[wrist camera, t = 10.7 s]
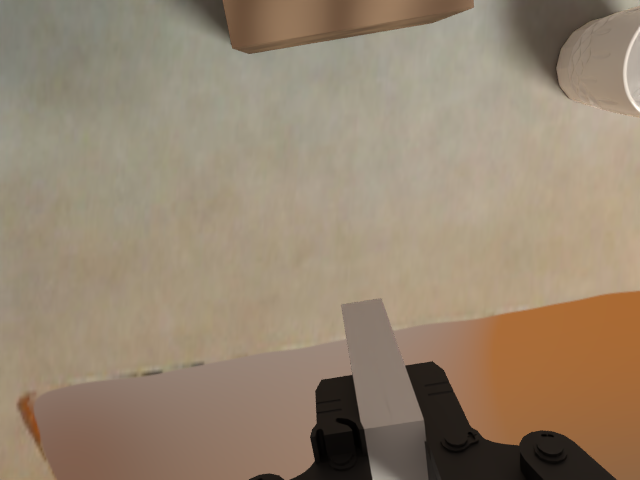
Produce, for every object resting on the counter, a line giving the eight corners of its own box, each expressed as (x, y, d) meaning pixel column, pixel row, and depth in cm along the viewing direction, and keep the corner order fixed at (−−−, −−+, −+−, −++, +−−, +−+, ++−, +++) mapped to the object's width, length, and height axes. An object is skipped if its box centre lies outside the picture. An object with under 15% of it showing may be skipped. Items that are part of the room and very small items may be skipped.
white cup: (562, 5, 39) (646, -16, 29) (655, 17, 39) (766, -1, 30) (538, 106, 41) (607, 116, 32) (625, 116, 42) (719, 128, 33)
